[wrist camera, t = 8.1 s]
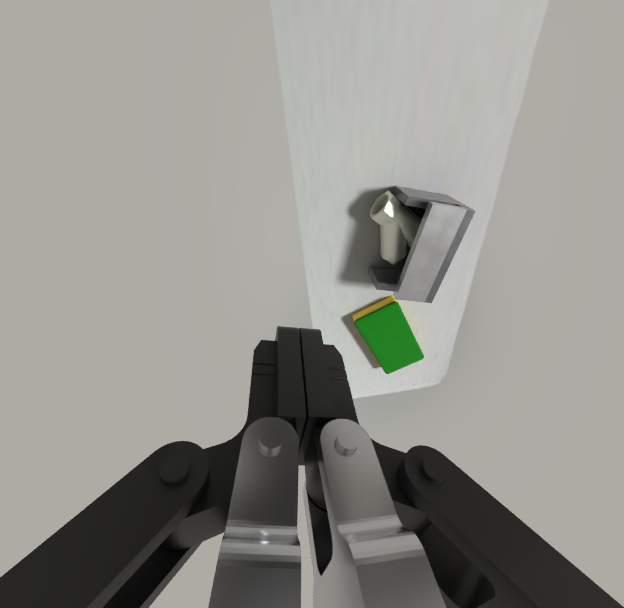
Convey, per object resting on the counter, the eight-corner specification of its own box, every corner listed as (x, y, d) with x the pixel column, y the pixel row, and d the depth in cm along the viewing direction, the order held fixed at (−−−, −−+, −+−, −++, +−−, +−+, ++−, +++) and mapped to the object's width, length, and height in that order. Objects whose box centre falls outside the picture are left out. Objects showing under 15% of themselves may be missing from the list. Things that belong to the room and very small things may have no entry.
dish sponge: (392, 293, 46) (397, 301, 44) (419, 348, 53) (425, 358, 51) (350, 313, 47) (354, 323, 45) (382, 365, 55) (386, 375, 53)
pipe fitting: (392, 260, 43) (428, 222, 40) (399, 274, 40) (440, 236, 37) (349, 230, 40) (385, 187, 37) (354, 243, 37) (394, 198, 33)
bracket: (395, 186, 36) (415, 201, 31) (447, 195, 38) (475, 211, 32) (367, 272, 43) (380, 297, 38) (413, 278, 44) (431, 302, 39)
